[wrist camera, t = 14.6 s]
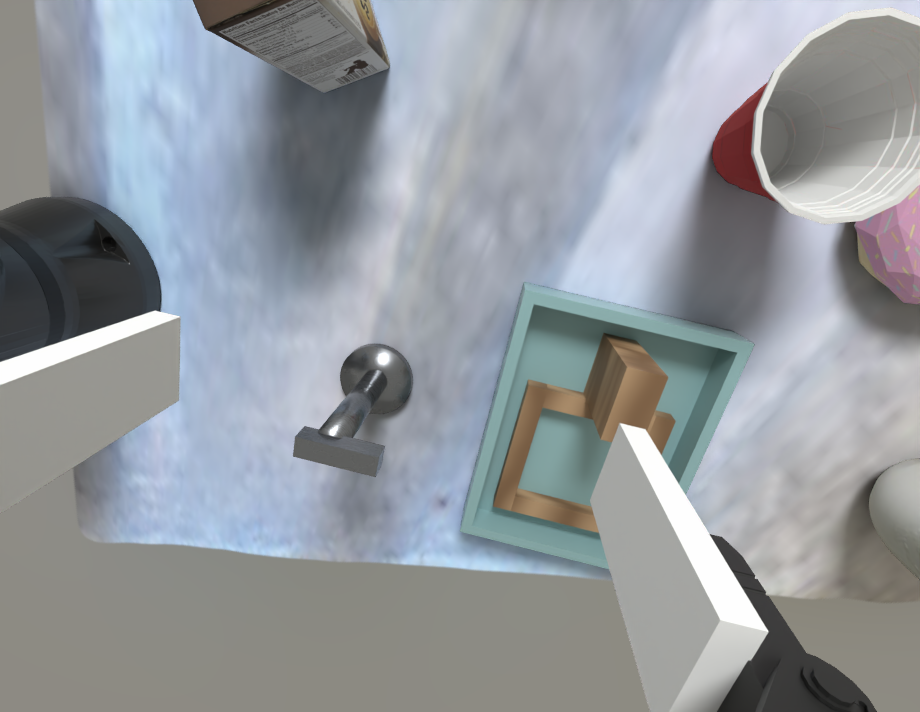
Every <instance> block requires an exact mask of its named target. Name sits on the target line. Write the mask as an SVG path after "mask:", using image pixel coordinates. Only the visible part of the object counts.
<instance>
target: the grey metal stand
mask: <svg viewBox="0 0 920 712" xmlns="http://www.w3.org/2000/svg"><path fill="white" fill-rule="evenodd" d="M340 381H341V386H342V389H343V391H344V393H345V395H346V398H345V399H344V400H343V401H342V403H341V404H340V405H339V406H338V407H337V409H336V410H335V411H334V412H333V413H332V415H331V416H330V417H329V418H328V419H327V421H326V422H325V423H324V424H323V425H322V427H321V428H320V429H319V430H318V429H314V428H310V427H306V426H304V428H303V429H302V430H301V431H300V432H299V433H298V434H297V435H296V436H295V443H294V452H293V456H294V457H298V458H302V459H306V460H310V461H314V462H318V463H322V464H326V465H329V466H333V467H337V468H341V469H345V470H349V471H353V472H357V473H361V474H365V475H369V476H373V477H376V475H377V473H378V471H379V469H380V467H381V465H382V460H383V454H384V449H385V446H383V445H379V444H375V443H371V442H367V441H363V440H359V439H355V438H353V437H354V435H355V434H356V432H357V431H358V429H359V428H360V426H361V425H362V423H363V422H364V420H365V419H366V417H367V416H368V414H369V413H374V414H384V413H389V412H392V411H394V410H396V409H398V408H399V407H400V406H401V405H403V403H404V402H405V401H406V399H407V398H408V396H409V394H410V392H411V389H412V385H413V375H412V371H411V368H410V365H409V364H408V362H407V360H406V359H405V358H404V357H403V356H402V355H401V354H400V353H399V352H398V351H397V350H395V349H393V348H391V347H389V346H386V345H382V344H368V345H364V346H361V347H359V348H358V349H356V350H355V351H354V352H353V353H351V354H350V355H349V356H348V357H347V359H346V360H345V362H344V363H343V366H342V368H341V373H340Z"/></svg>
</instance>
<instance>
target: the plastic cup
mask: <svg viewBox="0 0 920 712" xmlns="http://www.w3.org/2000/svg"><path fill="white" fill-rule="evenodd" d="M712 159H713V162H714V165H715V168H716V170H717V172H718V173H719V174H720V175H721V176H722V177H723V178H724V179H725V180H726V181H727V182H728V183H730V184H733V185H736V186H738V187H739V188H741V189H744V190H747V191H750V192H753V193H756V194H759V195H762V196H765V197H768V198H769V199H770V200H773V201H776V202H777V203H779V204H780V205H781V206H782V207H783V208H784V209H785V210H786V211H787V212H789V213H792V214H795V215H797V216H800V217H803V218H806V219H809V220H812V221H815V222H818V223H821V224H832V223H844V222H855V221H863V220H865V219H867V218H869V217H871V216H873V215H875V214H878V213H880V212H882V211H884V210H886V209H888V208H890V207H892V206H894V205H897V204H899V203H900V202H901V201H902V200H904V199H905V198H906V197H907V196H908V195H909V194H910V193H911V192H912V191H913V190H914V189H915V188H916V187H917V186H919V185H920V18H919V17H916V16H913V15H911V14H908V13H905V12H902V11H900V10H897V9H894V8H891V7H890V8H882V9H873V10H865V11H856V12H848V13H846V14H844V15H842V16H841V17H839V18H837V19H835V20H833V21H831V22H830V23H828V24H826V25H824V26H822V27H820V28H819V29H817V30H815V31H813V32H811V33H809V34H808V35H806V37H805V38H804V39H803V40H802V41H801V42H800V43H799V44H798V45H797V46H796V47H795V49H794V50H793V51H792V52H791V53H790V54H789V55H788V56H787V57H786V58H785V60H784V61H783V62H782V63H781V64H780V65H779V66H778V67H777V68H776V69H775V71H774V72H773V73H772V75H771V77H770V79H769V81H768V82H767V83H766V84H765V85H764V86H763V87H761V88H760V89H759V90H758V91H757V92H756V93H754V94H753V95H752V96H751V97H750V98H748V99H747V100H746V101H745V102H744V104H743V105H742V106H741V107H740V108H738V109H737V110H736V111H735V112H734V113H733V114H732V115H731V116H730V117H729V118H728V119H727V120H726V121H725V122H724V123H723V124H722V125H721V127H720V129H719V131H718V134H717V136H716V138H715V140H714V142H713V154H712Z"/></svg>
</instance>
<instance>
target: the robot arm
mask: <svg viewBox="0 0 920 712" xmlns="http://www.w3.org/2000/svg"><path fill="white" fill-rule="evenodd" d="M159 307H160V285H159V279H158V275H157V272H156V268H155V266H154V263H153V261H152V258H151V256H150V254H149V252H148V251H147V249H146V247H145V246H144V244H143V243H142V241H141V240H140V238H139V237H138V236H137V235H136V233H135V232H134V231H133V230H132V229H131V228H130V227H129V226H128V225H127V224H126V223H125V222H124V221H123V220H122V219H120V218H119V217H118V216H117V215H115V214H114V213H112V212H111V211H109V210H108V209H106V208H104V207H102V206H100V205H98V204H96V203H93V202H90V201H87V200H84V199H79V198H73V197H43V198H35V199H31V200H27V201H24V202H21V203H19V204H16V205H14V206H11V207H9V208H6V209H4V210H1V211H0V514H1V513H2V512H4V511H6V510H7V509H9V508H10V507H12V506H13V505H15V504H17V503H18V502H20V501H21V500H23V499H25V498H26V497H28V496H29V495H31V494H32V493H34V492H35V491H37V490H38V489H40V488H42V487H43V486H45V485H47V484H48V483H50V482H51V481H52V480H54V479H56V478H57V477H59V476H61V475H62V474H64V473H65V472H67V471H69V470H70V469H72V468H73V467H75V466H76V465H78V464H80V463H81V462H83V461H84V460H86V459H87V458H89V457H91V456H92V455H94V454H95V453H97V452H98V451H100V450H102V449H103V448H105V447H106V446H108V445H109V444H111V443H113V442H114V441H116V440H117V439H119V438H120V437H122V436H124V435H125V434H127V433H128V432H130V431H132V430H133V429H135V428H136V427H138V426H139V425H141V424H143V423H144V422H146V421H147V420H149V419H150V418H152V417H154V416H155V415H157V414H158V413H160V412H161V411H163V410H165V409H166V408H168V407H169V406H171V405H172V404H174V403H176V402H177V401H179V370H180V316H176V315H171V314H167V313H163V312H159ZM590 503H591V506H592V510H593V513H594V517H595V520H596V524H597V527H598V531H599V534H600V538H601V541H602V545H603V548H604V552H605V555H606V559H607V562H608V566H609V570H610V573H611V577H612V580H613V584H614V587H615V591H616V594H617V598H618V601H619V604H620V608H621V612H622V615H623V619H624V622H625V625H626V629H627V633H628V636H629V640H630V643H631V647H632V650H633V654H634V657H635V661H636V664H637V668H638V671H639V675H640V678H641V682H642V685H643V689H644V692H645V696H646V699H647V702H648V706H649V710H650V712H877V711H876V710H875V708H874V706H873V705H872V703H871V702H870V700H869V699H868V697H867V696H866V695H865V694H864V693H863V692H862V691H861V690H860V689H859V688H858V687H857V686H856V685H855V683H853V681H851V680H850V679H849V678H848V677H846V676H845V675H844V674H843V673H841V672H840V671H839V670H837V669H836V668H835V667H833V666H832V665H830V664H828V663H826V662H825V661H823V660H821V659H819V658H818V657H816V656H813V655H810V654H807V653H806V652H805V650H804V649H803V647H802V646H801V644H800V643H799V641H798V640H797V638H796V637H795V635H794V634H793V632H792V631H791V629H790V628H789V626H788V625H787V623H786V622H785V620H784V619H783V617H782V616H781V614H780V613H779V611H778V610H777V608H776V607H775V605H774V604H773V602H772V601H771V599H770V598H769V596H766V594H765V593H766V591H765V590H764V588H763V587H762V585H761V584H760V582H759V581H758V579H755V575H754V573H753V572H752V570H751V569H750V567H749V566H748V564H747V563H746V561H745V560H744V558H743V557H742V555H740V554H739V553H738V552H737V551H736V550H735V549H734V548H733V547H732V546H731V545H730V544H729V543H728V542H727V541H726V540H725V539H723V538H722V537H719V536H715V535H711V534H709V533H708V531H707V530H706V528H705V526H704V525H703V523H702V521H701V520H700V518H699V517H698V515H697V513H696V512H695V510H694V508H693V507H692V505H691V503H690V502H689V500H688V498H687V497H686V495H685V494H684V492H683V490H682V489H681V487H680V485H679V484H678V482H677V480H676V479H675V477H674V475H673V474H672V472H671V471H670V469H669V467H668V466H667V464H666V462H665V461H664V459H663V457H662V456H661V454H660V452H659V451H658V449H657V447H656V446H655V444H654V443H653V441H652V439H651V438H650V436H649V434H648V433H647V431H646V429H642V428H638V427H634V426H630V425H626V424H621V423H619V426H618V429H617V431H616V434H615V436H614V439H613V442H612V444H611V447H610V449H609V452H608V455H607V457H606V460H605V462H604V465H603V468H602V470H601V473H600V475H599V478H598V481H597V483H596V486H595V488H594V491H593V494H592V496H591V499H590Z"/></svg>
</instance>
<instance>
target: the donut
mask: <svg viewBox="0 0 920 712" xmlns="http://www.w3.org/2000/svg"><path fill="white" fill-rule="evenodd" d="M854 227H855V229H856V231H857V240H858V254H859V262H860V263H861V264H862V265H863V267H864V268H865V269H866V270H867V271H868V272H869V273H870V274H871V275H872V276H873V277H874V278H876V279H877V280H879V281H880V282H881V283H883V284H884V285H885V286H887V287H888V288H889V289H890V290H891V291H892V292H893V293H894V294H895V295H896V296H897V297H898V298H899V299H900V300H901V301H902V302H903V303H910V304H920V185H919V186H917V187H916V188H915V189H914V190H913V191H912V192H911V193H910V194H909V195H908V196H907V197H906V198H905V199H904V200H902V201H901V202H900V203H899V204H897V205H894V206H892V207H890V208H888V209H886V210H884V211H882V212H880V213H878V214H875V215H873V216H871V217H869V218H867V219H865V220H863V221H856V223H855V225H854Z"/></svg>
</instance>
